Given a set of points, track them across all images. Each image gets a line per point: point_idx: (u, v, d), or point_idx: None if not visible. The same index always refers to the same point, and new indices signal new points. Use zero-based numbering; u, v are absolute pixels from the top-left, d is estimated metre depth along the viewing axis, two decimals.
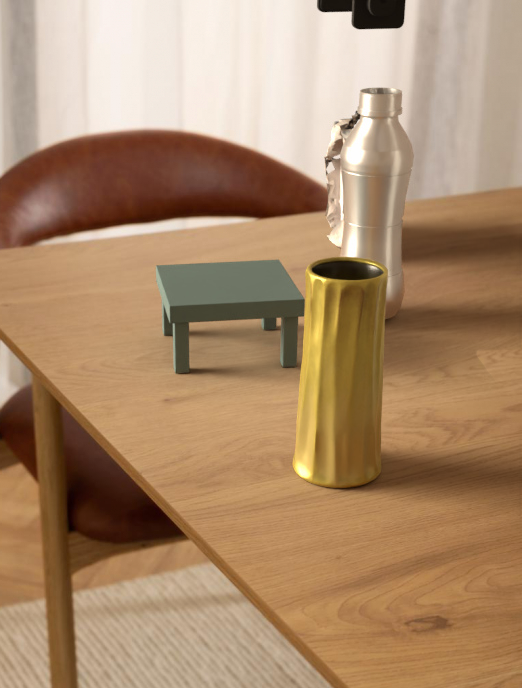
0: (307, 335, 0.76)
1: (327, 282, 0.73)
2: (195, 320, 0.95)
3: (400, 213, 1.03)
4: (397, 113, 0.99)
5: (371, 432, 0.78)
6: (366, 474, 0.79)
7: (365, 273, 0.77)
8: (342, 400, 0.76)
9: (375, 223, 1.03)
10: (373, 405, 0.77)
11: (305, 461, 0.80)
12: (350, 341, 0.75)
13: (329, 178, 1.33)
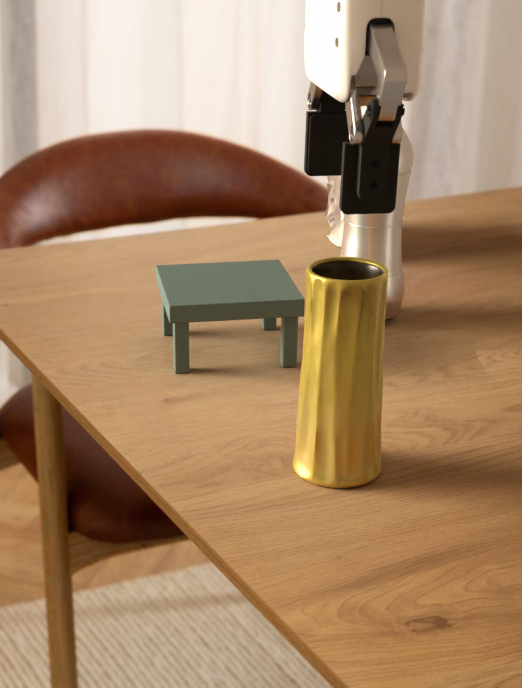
0: (307, 335, 0.76)
1: (327, 282, 0.73)
2: (195, 320, 0.95)
3: (400, 213, 1.03)
4: None
5: (371, 432, 0.78)
6: (366, 474, 0.79)
7: (365, 273, 0.77)
8: (342, 400, 0.76)
9: (375, 223, 1.03)
10: (373, 405, 0.77)
11: (305, 461, 0.80)
12: (350, 341, 0.75)
13: (329, 178, 1.33)
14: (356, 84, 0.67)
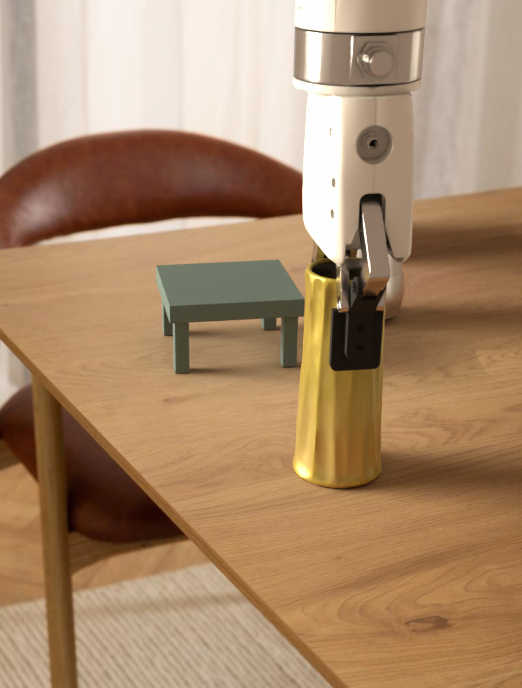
0: (307, 335, 0.76)
1: (327, 282, 0.73)
2: (195, 320, 0.95)
3: None
4: None
5: (371, 432, 0.78)
6: (366, 474, 0.79)
7: None
8: (342, 400, 0.76)
9: None
10: (373, 405, 0.77)
11: (305, 461, 0.80)
12: None
13: None
14: (351, 247, 0.71)
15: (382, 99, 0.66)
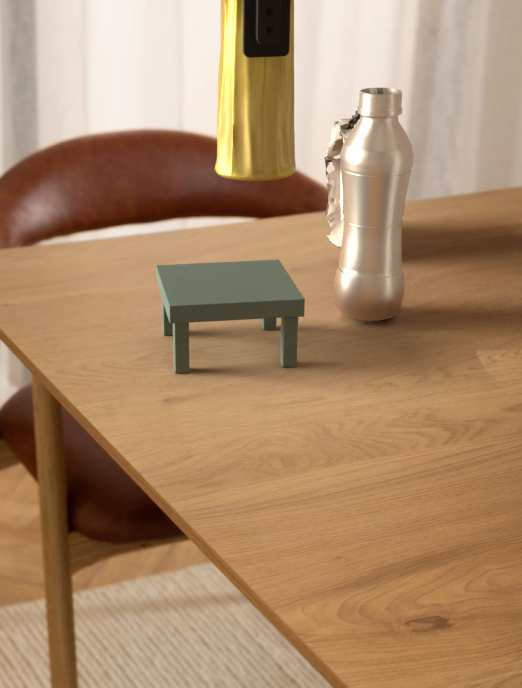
0: (223, 30, 0.83)
1: None
2: (195, 320, 0.95)
3: (400, 213, 1.03)
4: (397, 113, 0.99)
5: (284, 126, 0.85)
6: (280, 168, 0.86)
7: None
8: (256, 91, 0.84)
9: (375, 223, 1.03)
10: (285, 98, 0.85)
11: (224, 159, 0.87)
12: None
13: (329, 178, 1.33)
14: None
15: None
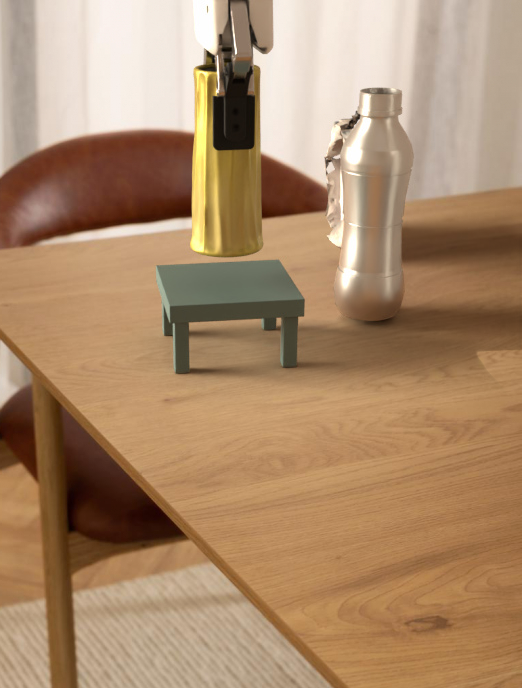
0: (195, 124, 0.93)
1: (208, 74, 0.90)
2: (195, 320, 0.95)
3: (400, 213, 1.03)
4: (397, 113, 0.99)
5: (251, 209, 0.95)
6: (248, 246, 0.96)
7: None
8: (225, 178, 0.93)
9: (375, 223, 1.03)
10: (251, 185, 0.94)
11: (198, 237, 0.96)
12: None
13: (329, 178, 1.33)
14: (226, 41, 0.88)
15: None
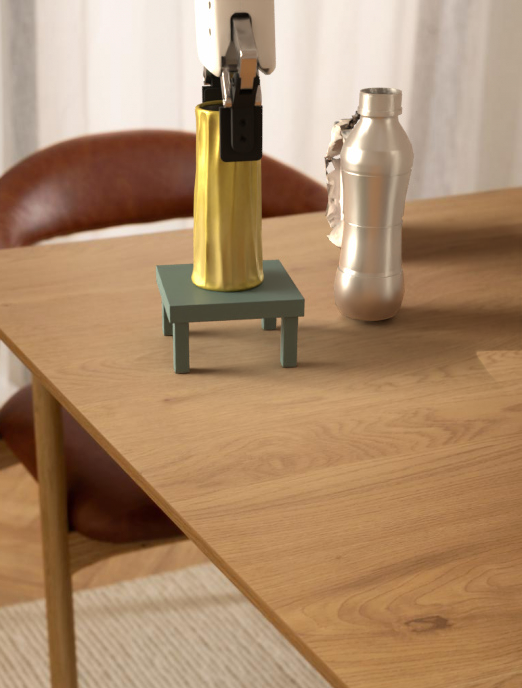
0: (197, 162, 0.94)
1: (210, 113, 0.91)
2: (195, 320, 0.95)
3: (400, 213, 1.03)
4: (397, 113, 0.99)
5: (251, 244, 0.96)
6: (249, 281, 0.97)
7: None
8: (226, 215, 0.94)
9: (375, 223, 1.03)
10: (252, 221, 0.95)
11: (199, 271, 0.98)
12: (230, 164, 0.92)
13: (329, 178, 1.33)
14: (228, 63, 0.88)
15: None
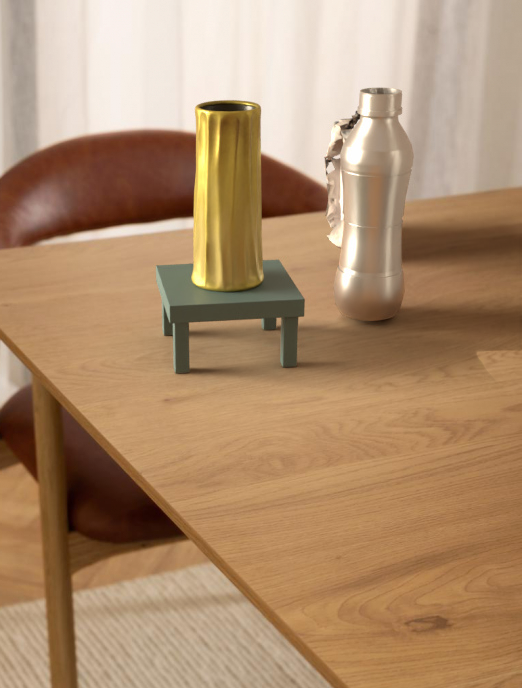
0: (197, 162, 0.94)
1: (209, 113, 0.91)
2: (195, 320, 0.95)
3: (400, 213, 1.03)
4: (397, 113, 0.99)
5: (251, 244, 0.96)
6: (249, 281, 0.97)
7: None
8: (226, 215, 0.94)
9: (375, 223, 1.03)
10: (252, 221, 0.95)
11: (199, 271, 0.98)
12: (230, 164, 0.92)
13: (329, 178, 1.33)
14: None
15: None
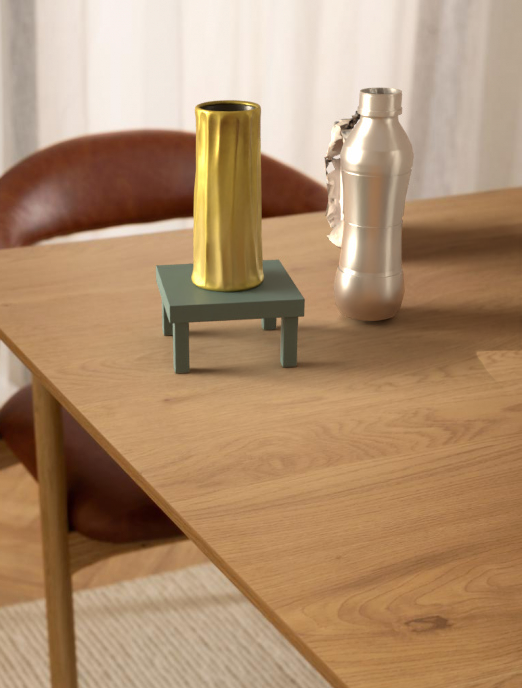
0: (197, 162, 0.94)
1: (209, 113, 0.91)
2: (195, 320, 0.95)
3: (400, 213, 1.03)
4: (397, 113, 0.99)
5: (251, 244, 0.96)
6: (249, 281, 0.97)
7: None
8: (226, 215, 0.94)
9: (375, 223, 1.03)
10: (252, 221, 0.95)
11: (199, 271, 0.98)
12: (230, 164, 0.92)
13: (329, 178, 1.33)
14: None
15: None
